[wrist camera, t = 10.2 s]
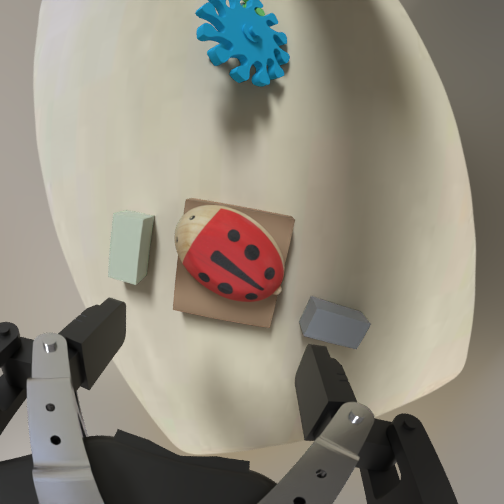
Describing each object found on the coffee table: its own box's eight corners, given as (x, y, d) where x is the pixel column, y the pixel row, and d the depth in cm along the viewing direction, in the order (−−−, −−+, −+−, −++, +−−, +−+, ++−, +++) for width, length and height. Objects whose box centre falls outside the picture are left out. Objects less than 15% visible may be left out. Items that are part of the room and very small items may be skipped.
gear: (290, 102, 20) (191, 47, 13) (241, 113, 24) (151, 77, 17) (298, 18, 19) (224, -36, 12) (256, 35, 23) (184, -6, 16)
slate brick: (298, 320, 27) (303, 335, 24) (310, 295, 26) (317, 308, 23) (347, 334, 27) (356, 349, 24) (360, 310, 26) (370, 324, 24)
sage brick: (127, 209, 24) (113, 213, 21) (155, 215, 24) (143, 219, 21) (121, 267, 26) (108, 276, 23) (147, 274, 26) (135, 285, 23)
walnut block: (193, 197, 24) (185, 199, 21) (290, 215, 25) (295, 219, 22) (180, 296, 27) (172, 309, 24) (268, 313, 27) (269, 328, 24)
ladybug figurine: (202, 185, 21) (192, 185, 18) (303, 251, 22) (312, 262, 19) (163, 253, 23) (148, 265, 19) (259, 312, 24) (260, 332, 20)
